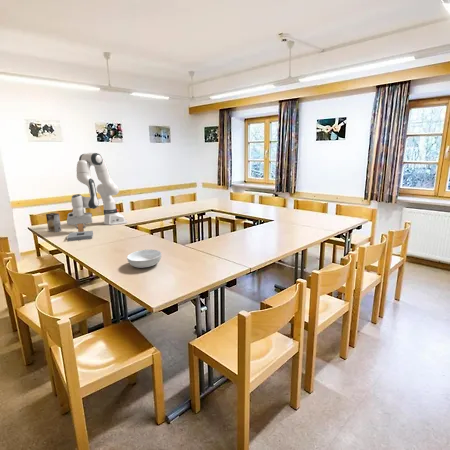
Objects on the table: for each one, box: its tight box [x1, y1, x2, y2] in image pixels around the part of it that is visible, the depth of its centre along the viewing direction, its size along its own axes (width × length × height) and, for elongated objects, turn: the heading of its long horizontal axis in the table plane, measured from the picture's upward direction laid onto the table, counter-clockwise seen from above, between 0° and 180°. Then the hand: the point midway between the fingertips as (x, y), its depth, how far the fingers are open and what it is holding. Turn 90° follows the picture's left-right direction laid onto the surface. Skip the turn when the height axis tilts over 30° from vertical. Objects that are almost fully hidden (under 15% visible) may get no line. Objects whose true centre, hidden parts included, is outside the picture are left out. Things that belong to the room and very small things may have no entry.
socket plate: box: [66, 230, 94, 242], centre depth 249 cm, size 18×16×3 cm
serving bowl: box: [126, 249, 162, 269], centre depth 187 cm, size 21×21×7 cm
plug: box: [77, 224, 85, 232], centre depth 263 cm, size 4×5×8 cm
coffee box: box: [45, 212, 62, 233], centre depth 268 cm, size 9×6×16 cm
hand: (80, 228), depth 263 cm, fingers closed on plug, 4 cm apart
